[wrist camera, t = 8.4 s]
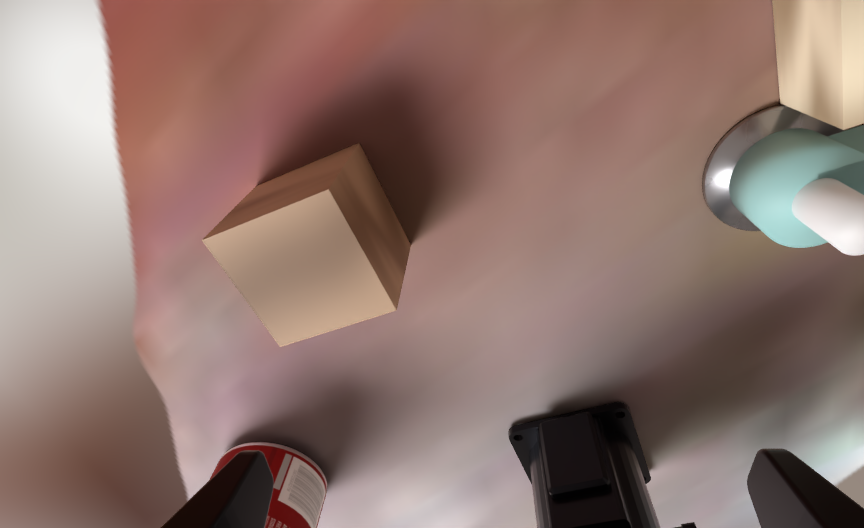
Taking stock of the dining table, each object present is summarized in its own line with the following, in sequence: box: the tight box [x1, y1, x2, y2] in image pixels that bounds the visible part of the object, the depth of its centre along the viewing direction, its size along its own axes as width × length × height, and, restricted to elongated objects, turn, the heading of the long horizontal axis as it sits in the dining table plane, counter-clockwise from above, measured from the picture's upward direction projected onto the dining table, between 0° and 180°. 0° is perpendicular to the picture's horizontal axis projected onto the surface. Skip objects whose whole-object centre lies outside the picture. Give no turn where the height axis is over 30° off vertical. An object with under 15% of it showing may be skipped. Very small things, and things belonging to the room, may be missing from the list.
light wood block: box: [202, 143, 411, 347], centre depth 19 cm, size 5×5×5 cm
